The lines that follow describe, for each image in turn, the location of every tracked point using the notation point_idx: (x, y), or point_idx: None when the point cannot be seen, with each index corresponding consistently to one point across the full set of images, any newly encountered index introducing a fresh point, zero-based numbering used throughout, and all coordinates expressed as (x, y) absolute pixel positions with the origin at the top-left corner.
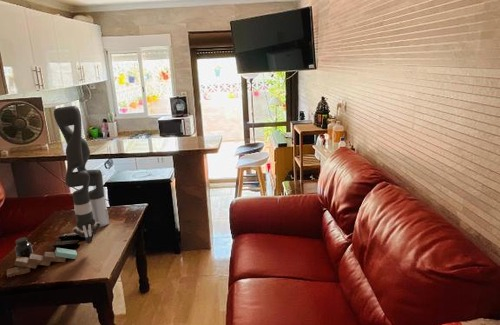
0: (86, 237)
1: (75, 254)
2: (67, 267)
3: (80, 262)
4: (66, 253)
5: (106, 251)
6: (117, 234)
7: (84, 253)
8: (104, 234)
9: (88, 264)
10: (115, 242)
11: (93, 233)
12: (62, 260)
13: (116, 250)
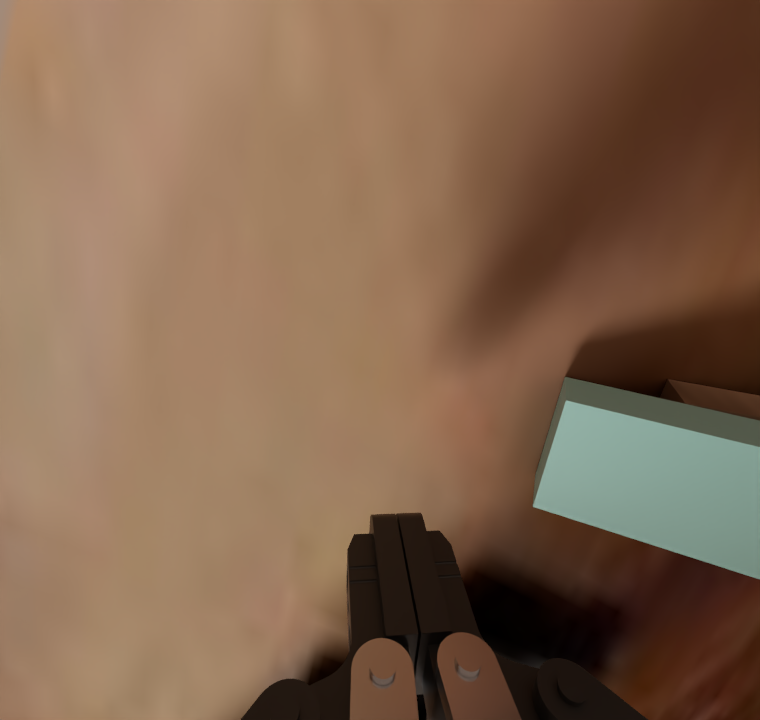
0: (457, 636)
1: (585, 409)
2: (710, 231)
3: (552, 257)
4: (720, 437)
5: (196, 342)
6: (45, 640)
7: (446, 442)
8: (188, 683)
9: (491, 118)
10: (66, 499)
11: (296, 708)
12: (708, 392)
13: (45, 285)
